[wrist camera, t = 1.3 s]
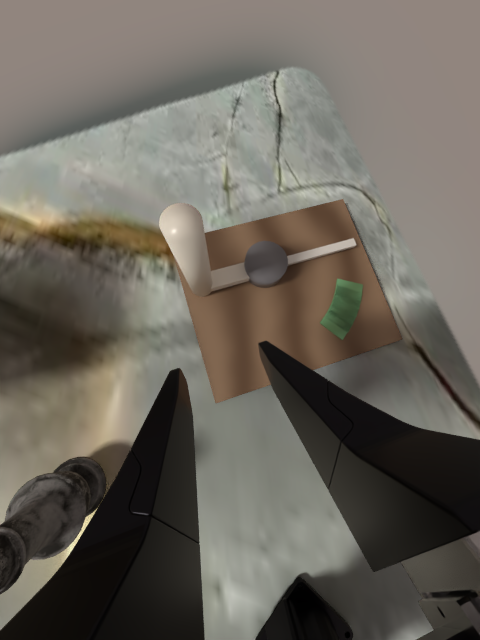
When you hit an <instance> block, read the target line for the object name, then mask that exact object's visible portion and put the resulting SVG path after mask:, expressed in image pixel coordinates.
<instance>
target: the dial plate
mask: <svg viewBox="0 0 480 640" xmlns="http://www.w3.org/2000/svg"><path fill="white" fill-rule="evenodd" d="M352 238H354V240H355V243H356V246H355V247H354V248H350V249H346V250H343V251H339V252H335V253H332V254H328V255H325V256H321V257H317V258H314V259H310V260H307V261H303V262H299V263H296V264H292V265H288V267H287V270H286V272H285V273H284V275H283V276H282V278H281V279H280V280H279V282H278V283H277V284H275V285H274V286H272V287H268V288H260V287H256V286H254V285H253V284H251V283H250V282H249V281H247V282H244V283H240V284H237V285H233V286H229V287H226V288H222V289H219V290H215V291H211V293H210V294H208V295H207V296H203V297H200V296H197V295H195V294H194V293H193V292H192V290H191V288H190V286H189V284H188V282H187V281H186V279H185V277H184V275H183V273H182V271H181V269H180V267H179V265H178V263H177V261H176V259H175V262H176V265H177V269H178V272H179V276H180V279H181V283H182V286H183V290H184V293H185V297H186V300H187V304H188V307H189V311H190V314H191V318H192V321H193V325H194V328H195V332H196V335H197V339H198V343H199V346H200V350H201V353H202V357H203V360H204V364H205V367H206V371H207V374H208V378H209V381H210V385H211V388H212V392H213V395H214V399H215V402H216V403H218V402H221V401H224V400H227V399H230V398H233V397H236V396H239V395H242V394H244V393H247V392H250V391H253V390H256V389H259V388H262V387H265V386H268V385H271V384H270V381H269V379H268V376H267V374H266V371H265V369H264V366H263V364H262V361H261V358H260V354H259V347H258V343H259V342H262V341H268V342H270V343H271V344H273V345H275V346H276V347H278V348H279V349H281V350H282V351H284V352H285V353H287V354H288V355H290V356H292V357H293V358H295V359H296V360H298V361H299V362H301V363H302V364H304V365H305V366H307V367H308V368H310V369H312V370H314V369H317V368H320V367H323V366H326V365H329V364H332V363H335V362H338V361H341V360H344V359H347V358H349V357H352V356H355V355H358V354H361V353H364V352H367V351H370V350H373V349H376V348H379V347H382V346H384V345H387V344H390V343H393V342H396V341H399V340H402V337H401V334H400V332H399V330H398V327H397V325H396V323H395V320H394V318H393V316H392V313H391V311H390V308H389V306H388V304H387V301H386V299H385V297H384V294H383V292H382V290H381V287H380V285H379V283H378V280H377V278H376V276H375V273H374V271H373V269H372V266H371V264H370V262H369V259H368V257H367V254H366V252H365V250H364V247H363V245H362V243H361V240H360V238H359V236H358V233H357V231H356V229H355V226H354V224H353V222H352V219H351V217H350V215H349V212H348V210H347V207H346V205H345V203H344V200H343V199H342V200H338V201H333V202H329V203H325V204H321V205H317V206H313V207H309V208H305V209H301V210H297V211H293V212H289V213H285V214H281V215H277V216H272V217H268V218H264V219H260V220H256V221H252V222H248V223H244V224H240V225H236V226H232V227H228V228H224V229H220V230H215V231H211V232H207V233H205V239H206V245H207V251H208V257H209V263H210V269H211V271H213V270H217V269H221V268H225V267H228V266H232V265H236V264H240V263H243V262H245V257H246V253H247V251H248V250H249V248H250V247H251V246H252V245H254V244H255V243H257V242H260V241H271V242H274V243H276V244H278V245H279V246H280V247H282V248H283V250H284V251H285V253H286V255H287V256H289V255H293V254H297V253H300V252H304V251H308V250H312V249H315V248H319V247H323V246H326V245H330V244H334V243H337V242H341V241H345V240H348V239H352ZM174 258H175V257H174Z"/></svg>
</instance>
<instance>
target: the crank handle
mask: <svg viewBox="0 0 480 640" xmlns="http://www.w3.org/2000/svg"><path fill="white" fill-rule="evenodd" d="M159 225H160V229H161V231H162V233H163V235H164V237H165V239H166V241H167V243H168V245H169V247H170V249H171V251H172V253H173V255H174V257H175V259H176V261H177V263H178V265H179V267H180V269H181V271H182V273H183V275H184V277H185V279H186V281H187V282H188V284H189V286H190V288H191V290H192V292H193V293H194V294H195V295H197V296H200V297H203V296H207V295H208V294H210V293H211V291H215V290H219V289H222V288H226V287H229V286H233V285H237V284H240V283H244V282H247V281H249V282H250V283H251V284H253V285H254V286H256V287H260V288H268V287H272V286H274V285H275V284H277V283H278V282H279V280H280V279H281V278H282V276H283V275H284V273H285V272H286V270H287V267H288V265H292V264H296V263H299V262H303V261H307V260H310V259H314V258H317V257H321V256H325V255H328V254H332V253H335V252H339V251H343V250H346V249H350V248H354V247H355V246H356V243H355V240H354V238H352V239H348V240H345V241H341V242H337V243H334V244H330V245H326V246H323V247H319V248H315V249H312V250H308V251H304V252H300V253H297V254H293V255H289V256H287V255H286V253H285V251H284V250H283V248H282V247H280V246H279V245H278V244H276V243H274V242H271V241H260V242H257V243H255V244H254V245H252V246H251V247H250V248H249V250H248V251H247V253H246V257H245V262H243V263H240V264H236V265H232V266H228V267H225V268H221V269H217V270H213V271H211V269H210V263H209V257H208V251H207V245H206V239H205V233H204V227H203V221H202V217H201V214H200V213H199V211H198V210H197V209H196V208H195V207H193V206H191V205H189V204H185V203H177V204H173V205H170V206H169V207H167V208H166V209H165V210H164V211H163V212H162V214H161V216H160V219H159Z"/></svg>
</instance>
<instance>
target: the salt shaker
mask: <svg viewBox="0 0 480 640" xmlns="http://www.w3.org/2000/svg"><path fill="white" fill-rule="evenodd" d="M105 489H106V478H105V474H104V472H103V469H102V468H101V467H100V465H99V464H98V463H97V462H95V461H94V460H92V459H89V458H85V457H77V458H73V459H69V460H68V461H66V462H64V463H62V464H61V465H60V466H59V467H58V468H57V469H56V470H55V471H54V472H53V473H47V474H43V475H40V476H37V477H35V478H33V479H32V480H30V481H28V482H27V483H26V484H24V485H23V486H22V487H21V488H20V489H19V490H18V491H17V493H16V494H15V495H14V497H13V498H12V500H11V502H10V504H9V506H8V509H7V511H6V517H5V522H4V523H2V524H1V525H0V594H2V593H3V592H5V591H7V590H8V589H9V588H10V587H11V586H12V585H13V584H14V583H15V582H16V581H17V579H18V578H19V576H20V575H21V573H22V571H23V568H24V566H25V564H26V563H27V562H28V561H29V560H30V559H33V560H37V559H47V558H50V557H53V556H56V555H57V554H59V553H60V552H62V551H64V550H65V549H66V548H67V547H68V546H69V545H70V544H71V543H72V542H73V541H74V540H75V538H76V537H77V535H78V534H79V532H80V531H81V528H82V526H83V523H84V520H85V517H86V516H88V515H89V514H91V513H92V512H93V511H94V510H95V509H96V508H97V507H98V505H99V504H100V502H101V501H102V499H103V496H104V493H105Z"/></svg>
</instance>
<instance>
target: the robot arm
mask: <svg viewBox="0 0 480 640" xmlns="http://www.w3.org/2000/svg"><path fill="white" fill-rule="evenodd" d="M258 347H259V354H260V358H261V361H262V364H263V366H264V369H265V371H266V374H267V376H268V379H269V381H270V384H271V386H272V388H273V390H274V392H275V394H276V396H277V398H278V399H279V401H280V403H281V405H282V407H283V409H284V410H285V412H286V414H287V416H288V418H289V419H290V421H291V423H292V425H293V427H294V429H295V430H296V432H297V434H298V436H299V438H300V440H301V441H302V443H303V445H304V447H305V449H306V450H307V452H308V454H309V456H310V458H311V460H312V461H313V463H314V465H315V467H316V469H317V470H318V472H319V474H320V476H321V478H322V480H323V481H324V483H325V485H326V487H327V489H328V490H329V492H330V494H331V496H332V498H333V500H334V502H335V503H336V505H337V507H338V509H339V511H340V513H341V514H342V516H343V518H344V520H345V522H346V523H347V525H348V527H349V529H350V531H351V533H352V534H353V536H354V538H355V540H356V542H357V543H358V545H359V547H360V549H361V551H362V553H363V554H364V556H365V558H366V560H367V562H368V563H369V565H370V567H371V569H372V571H373V572H376V571H378V570H381V569H383V568H386V567H389V566H391V565H394V564H397V563H399V562H401V563H402V565H403V567H404V568H405V570H406V572H407V574H408V575H409V577H410V579H411V580H412V582H413V584H414V585H415V587H416V589H417V590H418V592H419V594H420V595H421V597H422V599H421V600H419V601H418V602H419V605H420V607H421V608H422V610H423V612H424V614H425V615H426V617H427V619H428V621H429V622H430V624H431V626H432V627H433V629H434V630H433V631H432V632H430V633H428V634H426V635H424V636H422V637H420V638H418V639H417V640H480V440H477V439H472V438H467V437H462V436H456V435H451V434H446V433H441V432H436V431H430V430H426V429H421V428H418V427H415V426H412V425H409V424H407V423H405V422H402V421H400V420H398V419H396V418H394V417H393V416H391V415H389V414H387V413H385V412H383V411H381V410H379V409H377V408H375V407H373V406H372V405H370V404H368V403H366V402H364V401H362V400H360V399H358V398H357V397H355V396H353V395H351V394H349V393H348V392H346V391H344V390H343V389H341V388H340V387H338V386H336V385H335V384H333V383H332V382H330V381H328V380H327V379H325V378H324V377H322V376H321V375H319V374H318V373H316V372H315V371H313V370H312V369H310V368H308V367H307V366H305V365H304V364H302V363H301V362H299V361H298V360H296V359H295V358H293V357H292V356H290V355H288V354H287V353H285V352H284V351H282V350H281V349H279V348H278V347H276V346H275V345H273V344H271V343H270V342H268V341H262V342H259V343H258ZM300 585H302V586H301V587H299V586H300ZM345 632H346V633H345ZM352 637H353V633H352V630H351V628H350V626H349V624H348V623H347V622H346V621H345V620H344V619H343V618H342V617H341V616H340V615H339V614H338V613H337V612H336V611H335V610H334V609H333V608H332V607H331V606H330V605H329V604H328V603H327V602H326V601H325V600H324V599H323V598H322V597H321V596H320V595H319V594H318V593H317V592H316V591H315V590H314V589H313V588H312V587H310V586H309V585H308V584H307V583H306V582H305V581H304V580H303V579H302V578H297V579H296V580H295V581H294V583H293V584H292V586H291V587H290V589H289V590H288V592H287V593H286V595H285V596H284V598H283V599H282V600H281V602H280V603H279V605H278V606H277V608H276V609H275V611H274V612H273V614H272V615H271V617H270V618H269V620H268V621H267V623H266V624H265V625H264V627H263V628H262V630H261V631H260V633H259V634H258V636H257V637H256V639H255V640H352ZM0 640H205V639H204V620H203V601H202V581H201V562H200V545H199V525H198V505H197V486H196V466H195V447H194V428H193V415H192V408H191V402H190V397H189V391H188V385H187V381H186V379H185V377H184V375H183V373H182V371H181V369H180V368H177V369H174V370H171V371H170V372H169V374H168V376H167V378H166V380H165V382H164V384H163V386H162V388H161V390H160V392H159V394H158V396H157V398H156V400H155V402H154V404H153V406H152V408H151V410H150V412H149V414H148V416H147V418H146V420H145V422H144V424H143V426H142V428H141V430H140V432H139V434H138V436H137V438H136V440H135V442H134V444H133V446H132V448H131V451H129V453H128V455H127V457H126V459H125V461H124V463H123V465H122V467H121V469H120V471H119V473H118V475H117V477H116V478H115V480H114V482H113V484H112V485H111V487H110V489H109V490H108V492H107V494H106V496H105V497H104V499H103V501H102V502H101V504H100V506H99V507H98V509H97V511H96V512H95V514H94V516H93V517H92V519H91V521H90V522H89V524H88V525H87V527H86V529H85V530H84V532H83V534H82V535H81V537H80V539H79V540H78V542H77V544H76V545H75V547H74V548H73V550H72V552H71V553H70V555H69V556H68V557H67V559H66V560H65V562H64V563H63V564H62V566H61V567H60V568H59V569H58V571H57V572H56V573H55V574H54V575H53V577H52V578H51V579H50V580H49V581H48V582H47V583H46V584H45V585H44V586H43V587H42V588H41V589H40V590H39V591H38V592H37V593H36V595H35V596H34V597H33V598H32V599H31V600H30V601H29V602H28V603H27V604H26V605H25V606H24V607H23V608H22V609H21V610H20V611H19V612H18V613H17V614H16V615H15V616H14V617H13V618H12V619H11V620H10V621H9V622H8V623H7V624H6V625H5V626H4V627H3V628H2V629H1V630H0Z"/></svg>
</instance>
